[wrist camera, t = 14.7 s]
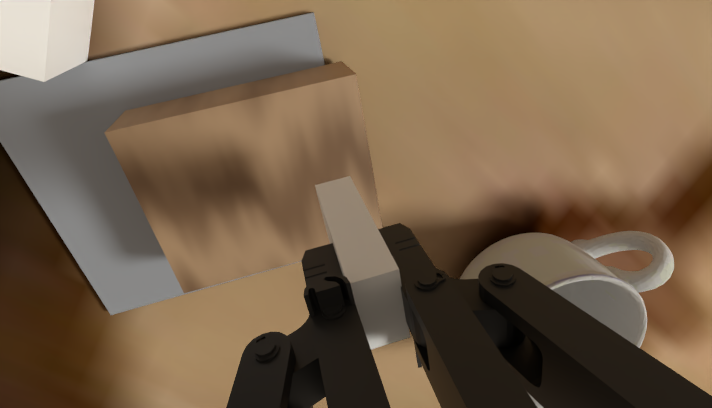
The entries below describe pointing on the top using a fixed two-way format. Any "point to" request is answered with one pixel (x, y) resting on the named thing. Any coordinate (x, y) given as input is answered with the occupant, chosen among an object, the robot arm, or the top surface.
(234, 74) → the felt mat
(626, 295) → the teacup
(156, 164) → the walnut slab
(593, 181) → the top surface
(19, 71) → the napkin holder
